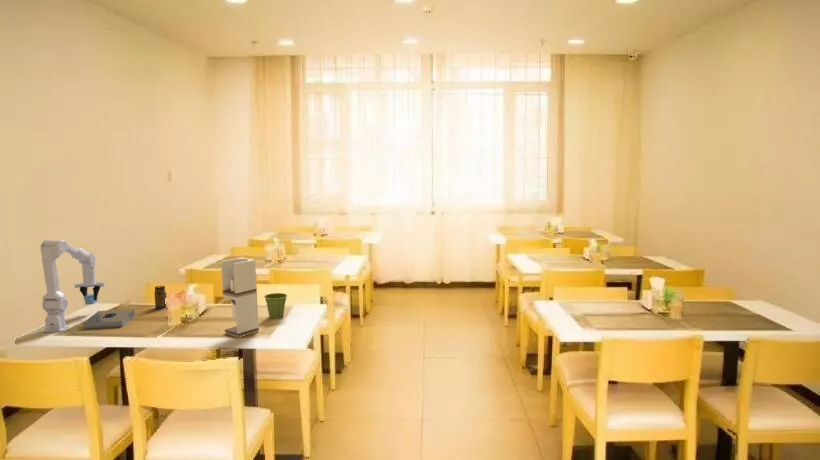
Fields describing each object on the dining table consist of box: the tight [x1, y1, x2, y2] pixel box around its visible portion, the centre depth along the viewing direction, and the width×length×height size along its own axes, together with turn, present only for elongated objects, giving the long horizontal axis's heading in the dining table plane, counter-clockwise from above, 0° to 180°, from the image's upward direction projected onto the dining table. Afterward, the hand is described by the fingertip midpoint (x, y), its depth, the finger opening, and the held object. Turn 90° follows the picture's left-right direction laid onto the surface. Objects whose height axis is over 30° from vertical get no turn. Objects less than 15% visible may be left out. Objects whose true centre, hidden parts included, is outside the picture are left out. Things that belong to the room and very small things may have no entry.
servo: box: [83, 292, 99, 306], centre depth 320 cm, size 11×4×4 cm, turn 10°
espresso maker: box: [220, 257, 260, 338], centre depth 283 cm, size 11×11×35 cm
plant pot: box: [263, 292, 288, 319], centre depth 311 cm, size 12×12×11 cm
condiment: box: [152, 285, 167, 311], centre depth 331 cm, size 7×8×12 cm
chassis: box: [82, 308, 136, 330], centre depth 307 cm, size 22×18×3 cm
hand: (91, 300), depth 320 cm, fingers closed on servo, 4 cm apart
